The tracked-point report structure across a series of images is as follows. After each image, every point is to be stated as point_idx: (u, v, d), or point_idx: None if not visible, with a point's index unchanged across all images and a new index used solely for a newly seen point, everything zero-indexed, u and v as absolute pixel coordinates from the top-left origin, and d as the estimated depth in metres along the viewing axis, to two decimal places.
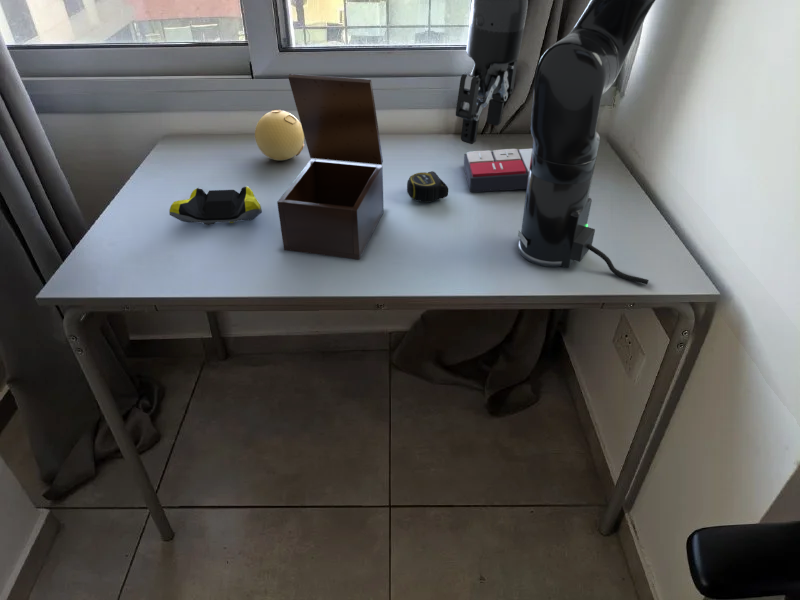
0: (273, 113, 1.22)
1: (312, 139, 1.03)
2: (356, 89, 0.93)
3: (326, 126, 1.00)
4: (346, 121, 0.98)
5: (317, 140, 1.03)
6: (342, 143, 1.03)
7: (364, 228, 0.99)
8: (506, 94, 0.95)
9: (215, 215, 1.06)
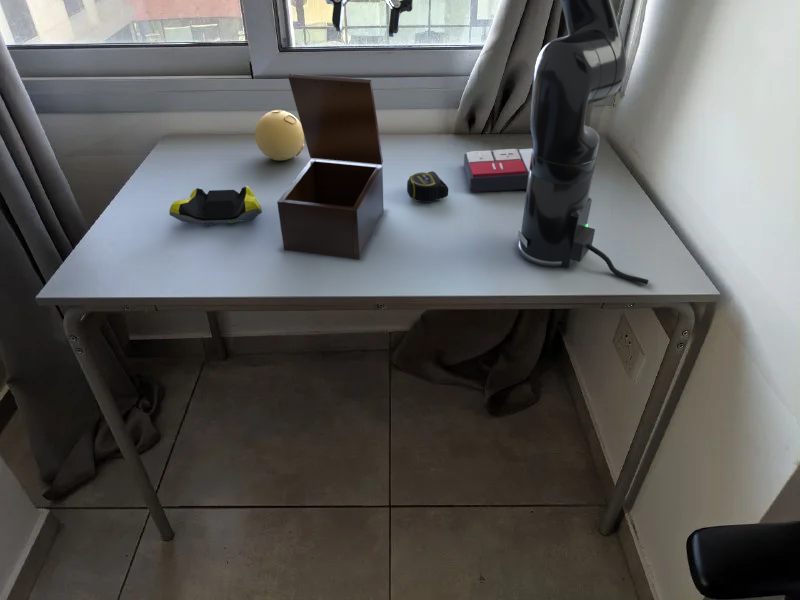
0: (273, 113, 1.22)
1: (312, 139, 1.03)
2: (356, 89, 0.93)
3: (326, 126, 1.00)
4: (346, 121, 0.98)
5: (317, 140, 1.03)
6: (342, 143, 1.03)
7: (364, 228, 0.99)
8: (396, 0, 0.98)
9: (215, 215, 1.06)
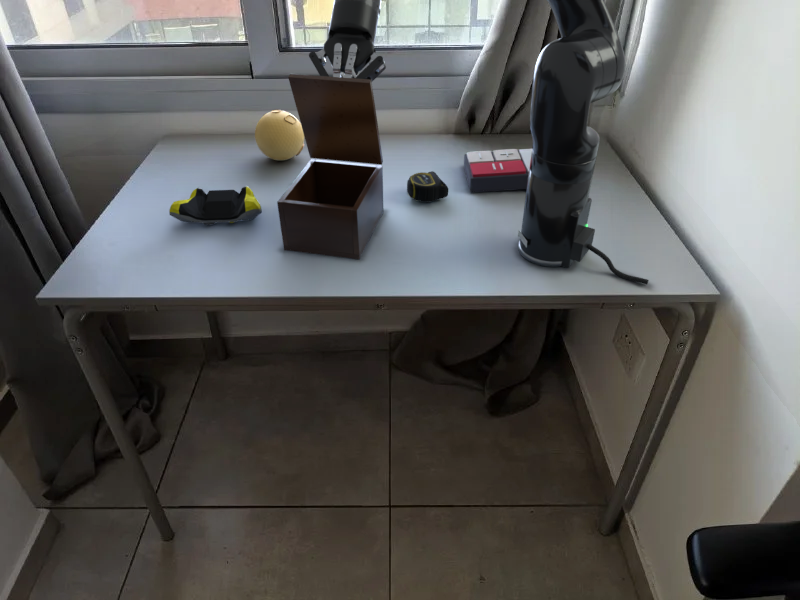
0: (273, 113, 1.22)
1: (312, 139, 1.03)
2: (356, 89, 0.93)
3: (326, 126, 1.00)
4: (346, 121, 0.98)
5: (317, 140, 1.03)
6: (342, 143, 1.03)
7: (364, 228, 0.99)
8: None
9: (215, 215, 1.06)
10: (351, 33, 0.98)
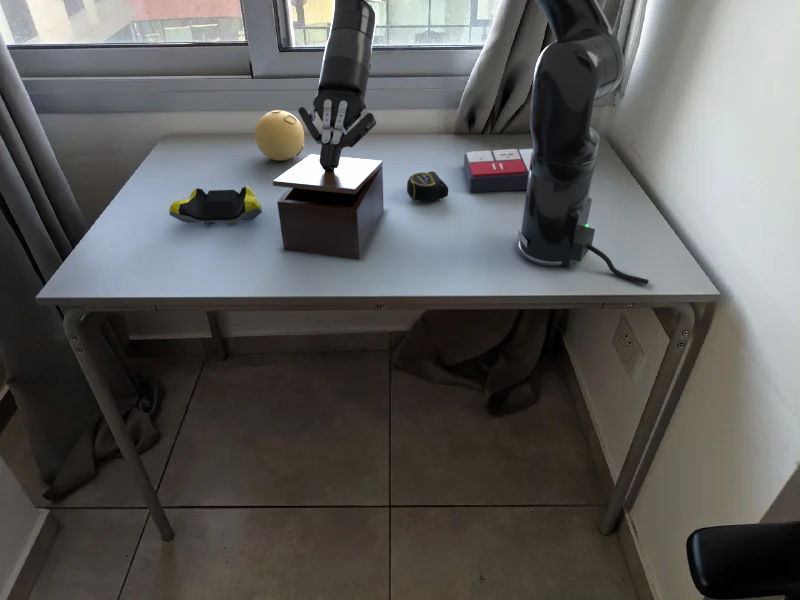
0: (273, 113, 1.22)
1: None
2: None
3: None
4: None
5: None
6: None
7: (364, 228, 0.99)
8: (336, 137, 0.97)
9: (215, 215, 1.06)
10: (341, 89, 0.97)
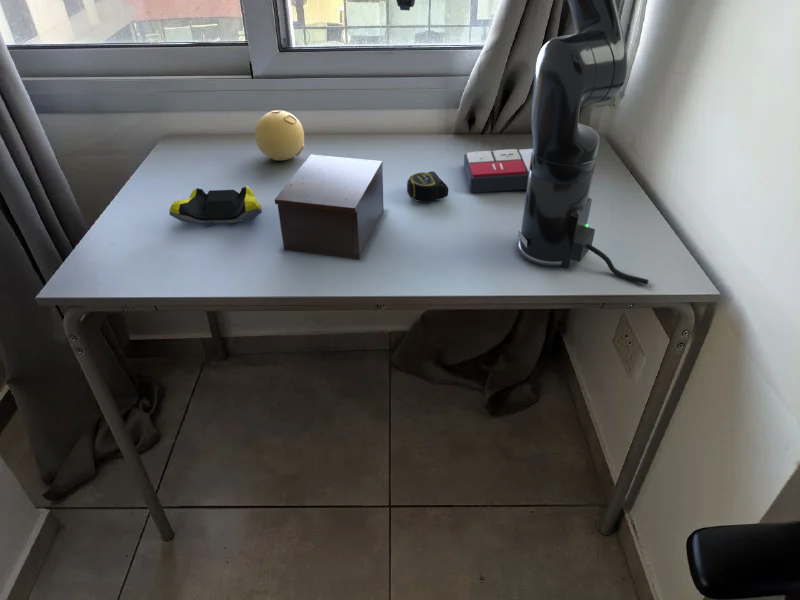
0: (273, 113, 1.22)
1: None
2: None
3: None
4: None
5: None
6: None
7: (364, 228, 0.99)
8: None
9: (215, 215, 1.06)
10: None
